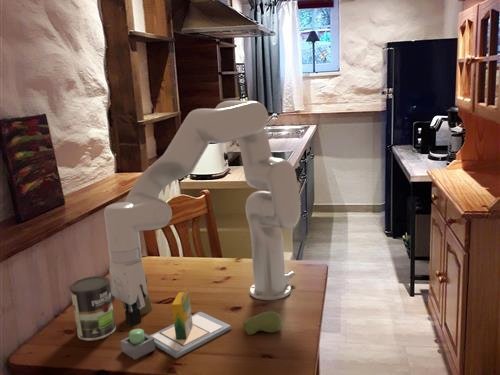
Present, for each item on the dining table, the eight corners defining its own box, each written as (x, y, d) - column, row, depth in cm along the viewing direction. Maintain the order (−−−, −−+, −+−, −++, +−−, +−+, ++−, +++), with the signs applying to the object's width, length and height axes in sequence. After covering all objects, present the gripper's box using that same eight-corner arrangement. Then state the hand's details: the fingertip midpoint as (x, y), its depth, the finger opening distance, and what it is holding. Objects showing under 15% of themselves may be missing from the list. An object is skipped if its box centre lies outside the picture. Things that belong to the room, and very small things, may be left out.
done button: (140, 339, 130) (138, 327, 129) (148, 344, 127) (146, 331, 126) (127, 345, 127) (126, 332, 127) (135, 350, 125) (133, 337, 124)
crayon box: (182, 325, 136) (177, 285, 133) (193, 325, 136) (188, 285, 133) (175, 339, 129) (170, 297, 126) (186, 339, 128) (182, 297, 126)
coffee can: (124, 326, 141) (117, 279, 137) (95, 344, 132) (87, 294, 129) (98, 319, 146) (91, 273, 143) (69, 335, 138) (61, 287, 134)
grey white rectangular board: (200, 314, 144) (200, 310, 144) (231, 329, 135) (230, 324, 135) (146, 340, 132) (146, 336, 132) (176, 358, 123) (175, 353, 123)
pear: (278, 316, 128) (240, 322, 130) (283, 334, 129) (245, 341, 131) (279, 305, 134) (242, 312, 135) (283, 323, 135) (247, 330, 136)
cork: (147, 315, 146) (143, 279, 144) (128, 314, 148) (123, 279, 145) (155, 305, 152) (151, 271, 150) (136, 305, 153) (132, 271, 151)
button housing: (142, 341, 132) (141, 331, 131) (155, 349, 127) (154, 338, 127) (122, 351, 128) (120, 340, 127) (134, 359, 124) (133, 348, 123)
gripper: (96, 252, 125) (105, 320, 129) (128, 265, 114) (137, 339, 118) (123, 243, 130) (131, 310, 134) (156, 256, 119) (163, 327, 123)
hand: (134, 323), depth 126 cm, fingers closed
